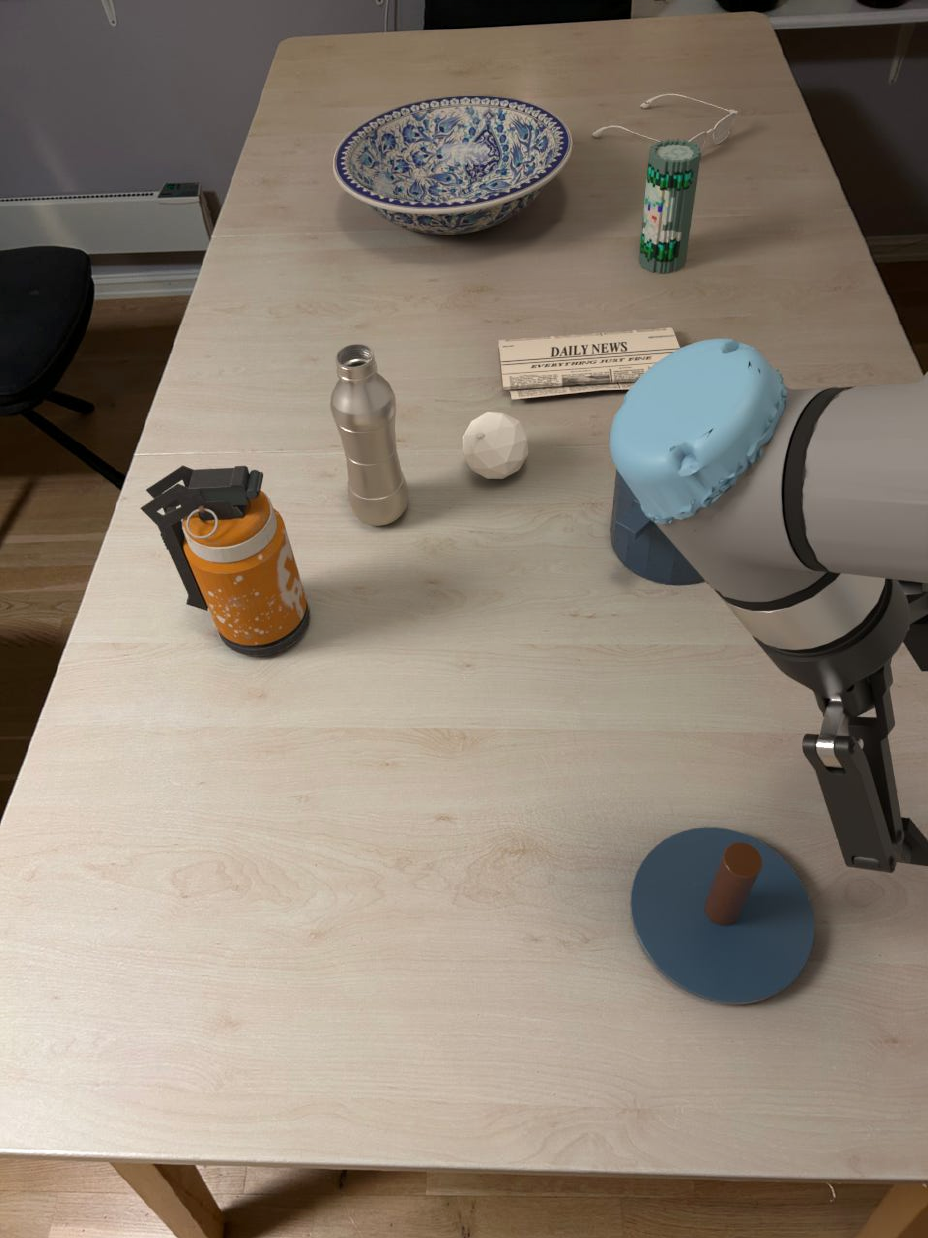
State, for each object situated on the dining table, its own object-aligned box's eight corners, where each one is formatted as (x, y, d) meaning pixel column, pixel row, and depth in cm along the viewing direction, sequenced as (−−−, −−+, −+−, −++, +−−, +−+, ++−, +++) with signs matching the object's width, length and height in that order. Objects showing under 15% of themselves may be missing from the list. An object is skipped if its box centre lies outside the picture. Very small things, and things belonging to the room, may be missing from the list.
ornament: (541, 479, 103) (512, 459, 96) (480, 490, 106) (448, 472, 99) (537, 418, 104) (509, 394, 97) (478, 431, 107) (445, 408, 100)
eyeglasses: (680, 170, 144) (683, 144, 141) (588, 138, 152) (589, 113, 149) (735, 133, 151) (740, 107, 148) (644, 105, 159) (646, 79, 156)
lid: (845, 910, 71) (885, 853, 63) (745, 1049, 66) (775, 1005, 58) (696, 802, 78) (715, 738, 70) (593, 920, 72) (602, 865, 64)
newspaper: (504, 407, 111) (503, 389, 109) (498, 355, 119) (498, 337, 118) (695, 393, 110) (698, 375, 108) (676, 342, 119) (678, 323, 117)
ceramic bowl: (331, 173, 150) (321, 108, 142) (540, 144, 152) (541, 78, 144) (354, 290, 128) (343, 220, 120) (597, 254, 131) (601, 183, 123)
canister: (306, 658, 89) (259, 509, 74) (192, 663, 90) (121, 515, 74) (315, 587, 95) (272, 434, 79) (207, 592, 95) (144, 440, 80)
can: (630, 261, 129) (640, 151, 117) (659, 244, 131) (672, 134, 120) (664, 277, 126) (678, 167, 114) (693, 260, 128) (709, 149, 117)
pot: (773, 520, 97) (793, 450, 90) (670, 621, 90) (683, 555, 82) (673, 466, 103) (684, 397, 96) (569, 558, 95) (572, 490, 88)
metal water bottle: (345, 531, 99) (311, 377, 84) (358, 488, 104) (328, 332, 88) (404, 535, 99) (381, 380, 83) (415, 491, 103) (395, 335, 87)
